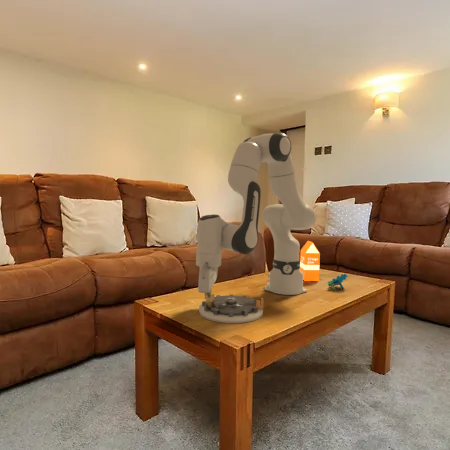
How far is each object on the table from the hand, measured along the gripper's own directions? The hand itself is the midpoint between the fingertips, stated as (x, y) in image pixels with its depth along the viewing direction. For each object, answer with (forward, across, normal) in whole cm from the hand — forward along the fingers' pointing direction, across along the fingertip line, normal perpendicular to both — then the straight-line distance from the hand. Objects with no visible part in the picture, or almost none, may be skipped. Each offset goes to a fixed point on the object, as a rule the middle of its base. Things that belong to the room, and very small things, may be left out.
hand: (207, 298), depth 118 cm
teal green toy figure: (+5, +43, -55) cm, 70 cm away
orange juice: (+5, +59, -44) cm, 74 cm away
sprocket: (+3, +2, -8) cm, 9 cm away
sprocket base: (+5, +2, -8) cm, 10 cm away
